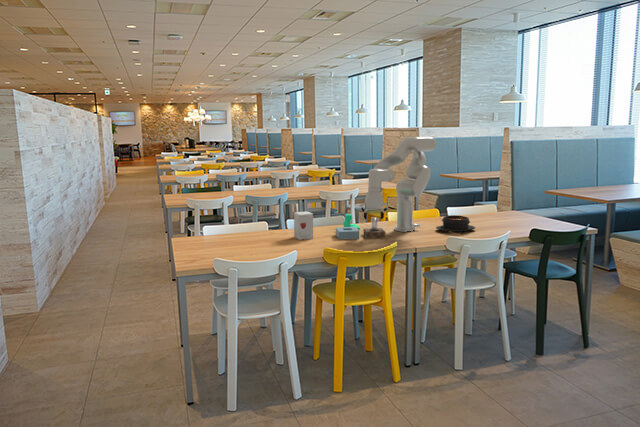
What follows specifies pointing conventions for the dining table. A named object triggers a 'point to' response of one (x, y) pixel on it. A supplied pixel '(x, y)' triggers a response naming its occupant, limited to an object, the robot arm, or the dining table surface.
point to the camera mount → (347, 221)
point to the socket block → (347, 232)
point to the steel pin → (374, 224)
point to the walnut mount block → (374, 233)
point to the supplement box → (303, 225)
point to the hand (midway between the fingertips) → (373, 219)
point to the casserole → (455, 224)
